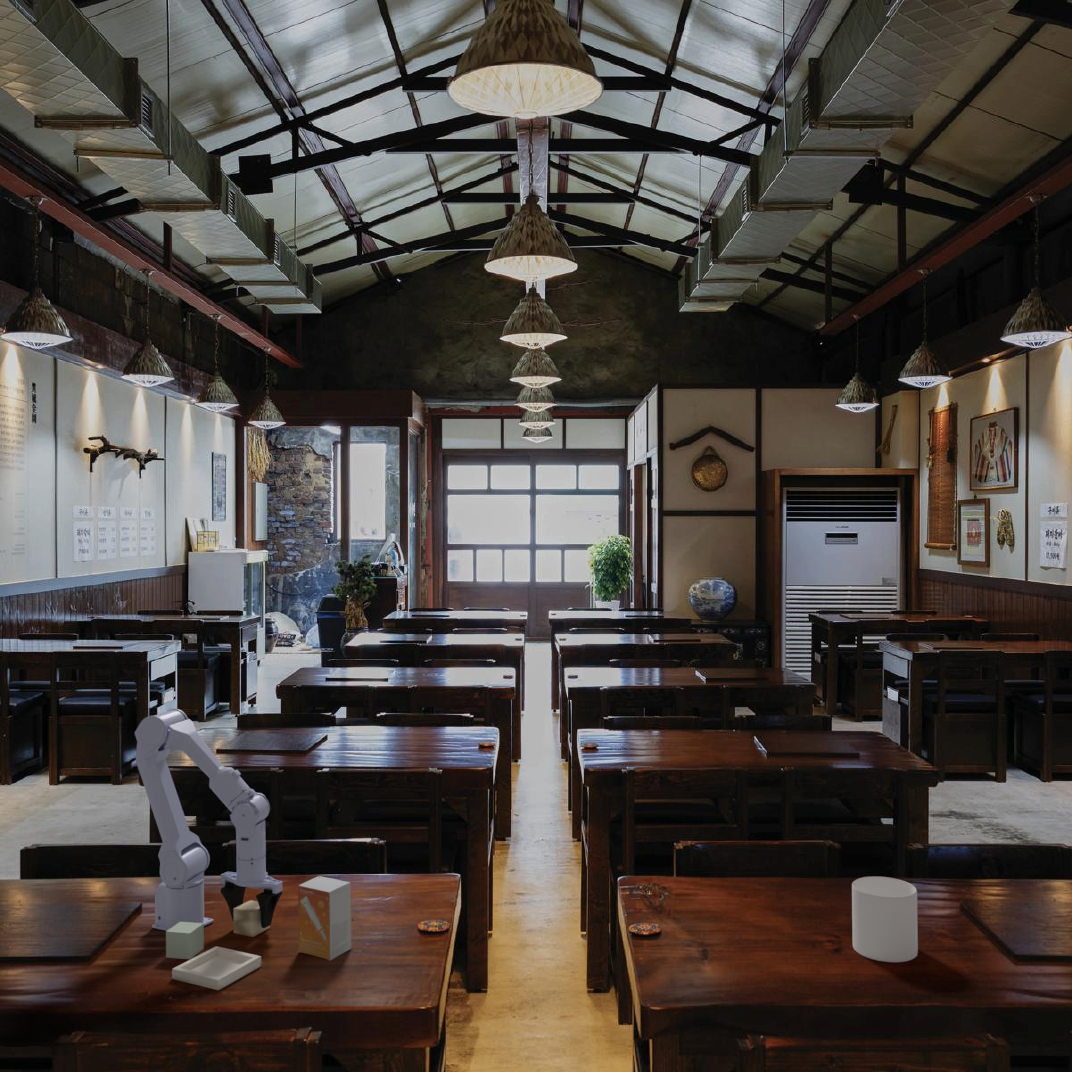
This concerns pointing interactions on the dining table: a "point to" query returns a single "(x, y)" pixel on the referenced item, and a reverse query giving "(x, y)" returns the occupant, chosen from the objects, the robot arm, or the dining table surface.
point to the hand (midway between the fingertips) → (251, 923)
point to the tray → (216, 968)
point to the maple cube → (248, 919)
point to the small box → (324, 917)
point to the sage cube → (184, 940)
